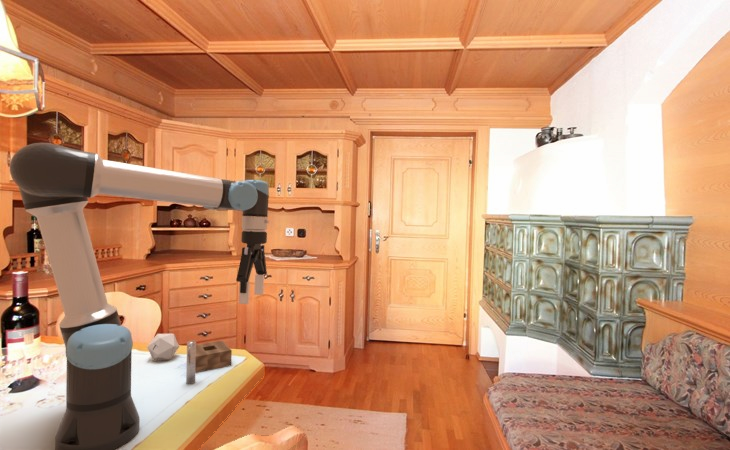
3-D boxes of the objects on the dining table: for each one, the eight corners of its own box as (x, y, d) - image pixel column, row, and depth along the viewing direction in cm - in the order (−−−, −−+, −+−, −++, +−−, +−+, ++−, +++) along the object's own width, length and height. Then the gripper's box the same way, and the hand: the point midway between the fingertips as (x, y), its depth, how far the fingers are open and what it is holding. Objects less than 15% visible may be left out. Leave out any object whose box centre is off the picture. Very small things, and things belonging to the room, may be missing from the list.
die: (147, 358, 129) (139, 341, 123) (169, 339, 135) (163, 322, 129) (163, 371, 126) (156, 354, 120) (186, 351, 132) (180, 334, 126)
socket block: (195, 372, 117) (195, 356, 117) (188, 360, 126) (188, 346, 126) (231, 365, 124) (231, 350, 123) (222, 354, 133) (222, 340, 132)
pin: (187, 385, 109) (187, 343, 108) (185, 381, 111) (186, 341, 110) (196, 383, 110) (196, 342, 110) (194, 380, 112) (195, 340, 112)
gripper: (252, 232, 104) (249, 309, 104) (277, 230, 129) (274, 291, 129) (226, 231, 104) (223, 307, 105) (255, 229, 129) (253, 290, 130)
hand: (251, 299), depth 117 cm, fingers open, 13 cm apart
